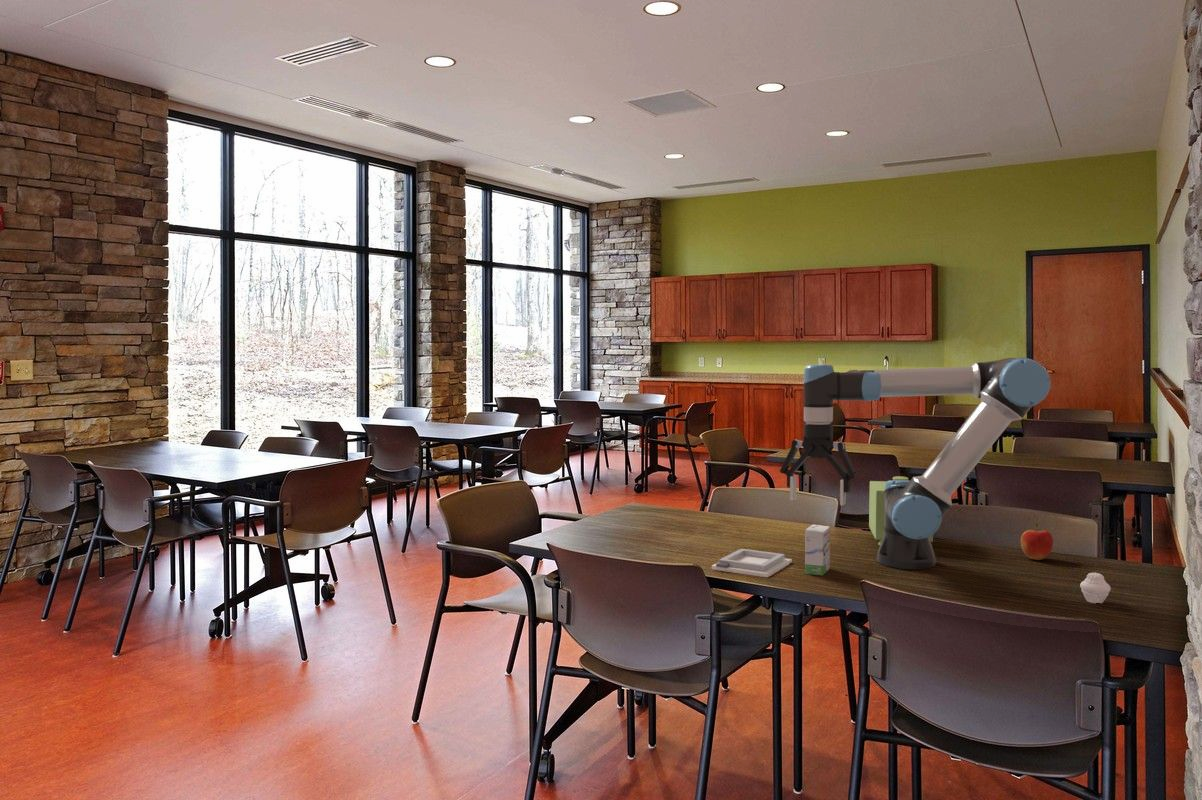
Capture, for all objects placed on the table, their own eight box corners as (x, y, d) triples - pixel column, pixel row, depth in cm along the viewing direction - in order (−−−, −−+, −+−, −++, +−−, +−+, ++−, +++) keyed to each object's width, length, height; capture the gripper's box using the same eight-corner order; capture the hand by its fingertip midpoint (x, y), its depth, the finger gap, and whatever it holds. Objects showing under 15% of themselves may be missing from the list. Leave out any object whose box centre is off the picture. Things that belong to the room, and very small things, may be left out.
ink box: (823, 576, 223) (823, 531, 223) (804, 574, 226) (804, 530, 225) (830, 568, 231) (830, 525, 230) (812, 566, 233) (812, 523, 232)
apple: (1022, 561, 237) (1023, 526, 236) (1018, 554, 244) (1019, 520, 244) (1054, 564, 234) (1055, 528, 233) (1050, 557, 241) (1051, 522, 241)
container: (868, 533, 273) (869, 471, 272) (922, 535, 270) (923, 473, 269) (875, 547, 254) (876, 481, 253) (933, 549, 251) (934, 482, 250)
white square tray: (791, 562, 237) (791, 553, 237) (766, 577, 222) (767, 568, 222) (738, 555, 246) (738, 546, 246) (711, 569, 231) (711, 560, 230)
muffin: (1082, 604, 198) (1082, 574, 197) (1077, 596, 203) (1078, 567, 203) (1112, 606, 195) (1113, 576, 195) (1107, 599, 201) (1108, 570, 201)
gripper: (869, 423, 222) (868, 504, 223) (778, 419, 236) (778, 495, 237) (861, 426, 216) (860, 508, 217) (768, 422, 230) (768, 500, 231)
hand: (817, 502), depth 227 cm, fingers open, 13 cm apart
